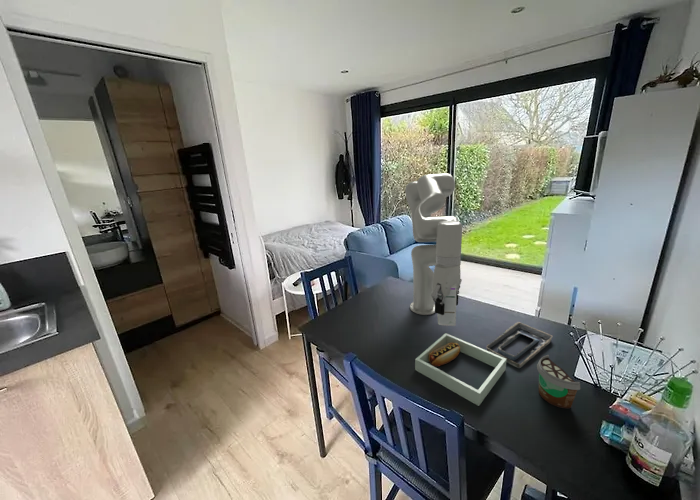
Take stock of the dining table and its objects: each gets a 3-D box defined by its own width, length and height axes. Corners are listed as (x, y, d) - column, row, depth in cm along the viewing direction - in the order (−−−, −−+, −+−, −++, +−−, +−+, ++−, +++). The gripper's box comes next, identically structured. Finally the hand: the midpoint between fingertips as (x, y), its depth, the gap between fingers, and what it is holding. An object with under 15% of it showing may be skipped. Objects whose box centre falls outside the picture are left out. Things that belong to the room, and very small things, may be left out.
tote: (445, 343, 112) (445, 333, 110) (505, 370, 96) (506, 358, 95) (415, 369, 99) (415, 359, 98) (478, 406, 84) (479, 393, 82)
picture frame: (553, 342, 109) (554, 335, 108) (520, 372, 96) (521, 365, 95) (516, 327, 119) (517, 321, 118) (482, 352, 106) (483, 345, 105)
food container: (524, 382, 91) (528, 355, 88) (542, 380, 91) (547, 353, 88) (553, 415, 79) (559, 386, 76) (575, 412, 79) (581, 383, 76)
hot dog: (463, 357, 104) (464, 345, 102) (436, 372, 98) (437, 360, 96) (452, 350, 108) (453, 338, 106) (426, 364, 102) (426, 352, 100)
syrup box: (456, 326, 95) (457, 286, 91) (437, 325, 96) (438, 285, 92) (454, 317, 100) (455, 279, 96) (436, 316, 102) (437, 278, 98)
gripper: (451, 251, 100) (450, 296, 105) (422, 264, 89) (421, 314, 94) (472, 255, 94) (469, 303, 100) (443, 270, 84) (442, 323, 89)
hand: (446, 308), depth 97 cm, fingers closed on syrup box, 8 cm apart
